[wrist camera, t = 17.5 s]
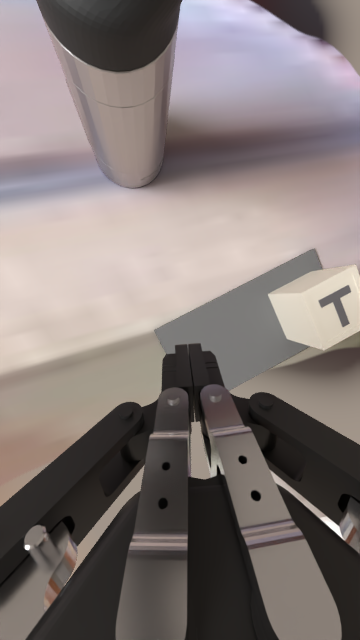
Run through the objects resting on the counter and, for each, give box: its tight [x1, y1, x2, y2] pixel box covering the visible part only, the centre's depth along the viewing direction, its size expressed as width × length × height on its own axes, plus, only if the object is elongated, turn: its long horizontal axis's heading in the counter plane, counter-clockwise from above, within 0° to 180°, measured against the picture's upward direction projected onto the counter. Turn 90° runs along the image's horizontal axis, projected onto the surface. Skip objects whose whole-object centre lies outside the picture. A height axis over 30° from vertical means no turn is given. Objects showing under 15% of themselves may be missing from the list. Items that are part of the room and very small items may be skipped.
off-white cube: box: [268, 264, 360, 350], centre depth 34 cm, size 8×8×8 cm
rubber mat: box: [154, 249, 323, 391], centre depth 37 cm, size 28×14×1 cm, turn 116°
